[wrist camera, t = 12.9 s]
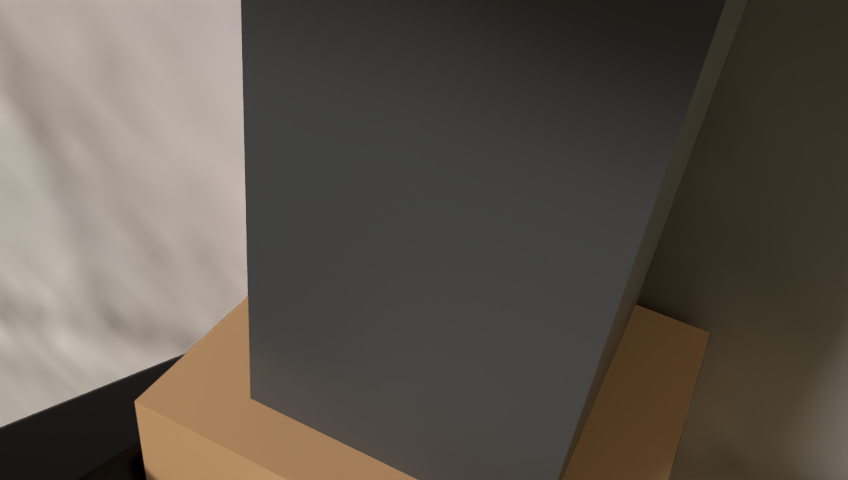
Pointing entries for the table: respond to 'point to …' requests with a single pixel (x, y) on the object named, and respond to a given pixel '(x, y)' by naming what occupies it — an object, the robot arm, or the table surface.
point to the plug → (451, 245)
